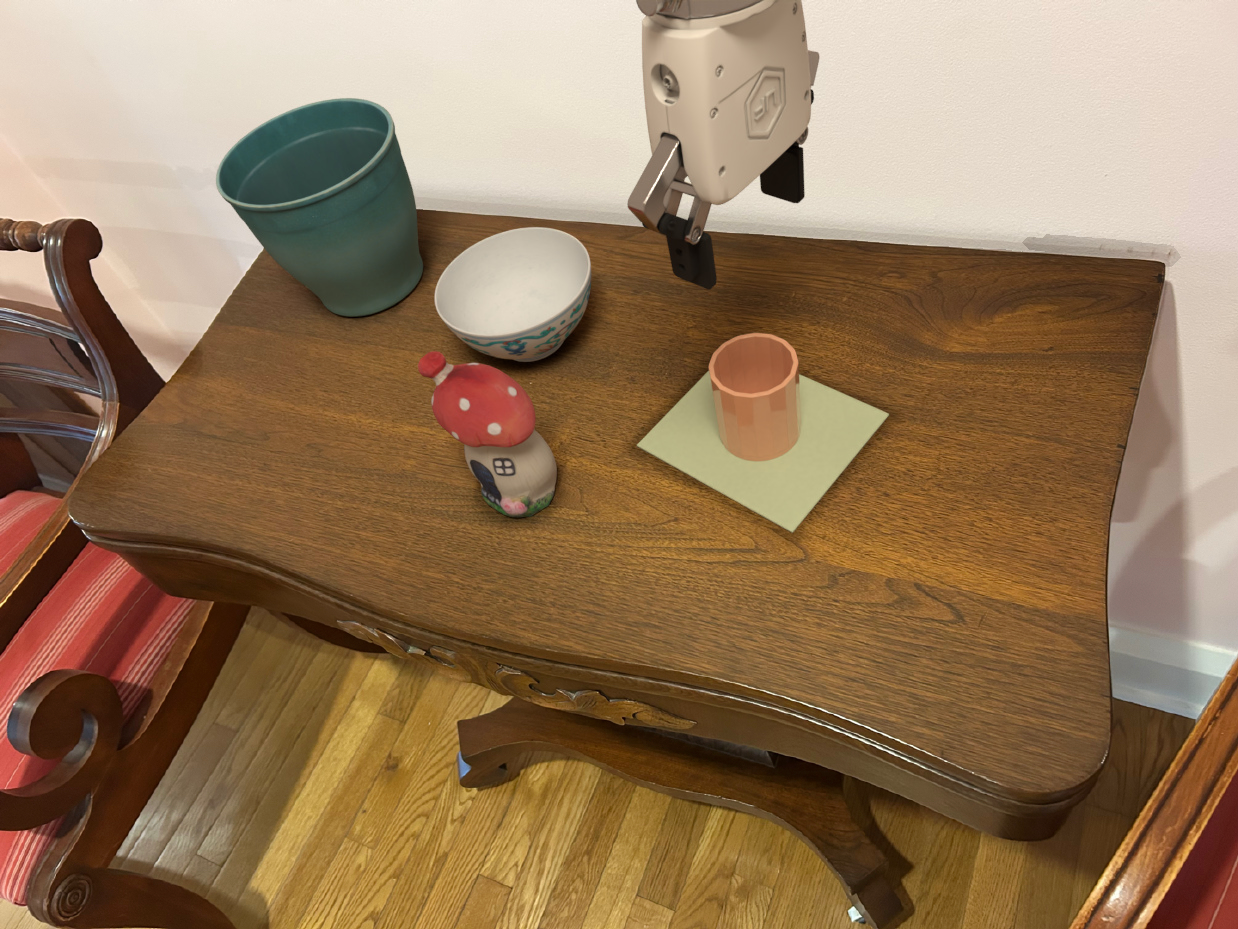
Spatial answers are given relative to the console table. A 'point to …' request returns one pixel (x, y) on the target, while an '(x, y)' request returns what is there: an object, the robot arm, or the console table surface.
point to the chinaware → (516, 292)
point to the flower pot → (330, 202)
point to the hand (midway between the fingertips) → (740, 237)
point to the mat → (776, 484)
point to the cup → (756, 396)
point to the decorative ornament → (494, 433)
